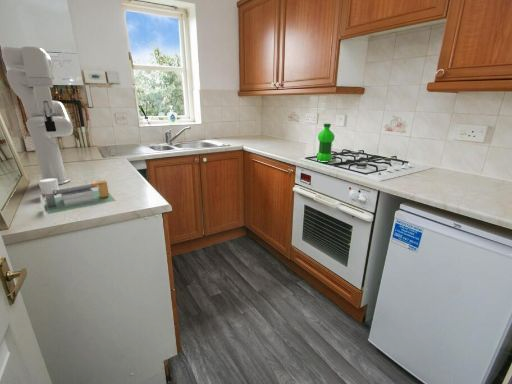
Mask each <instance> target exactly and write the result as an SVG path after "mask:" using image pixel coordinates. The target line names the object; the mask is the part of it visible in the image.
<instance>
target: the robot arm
mask: <svg viewBox="0 0 512 384" xmlns="http://www.w3.org/2000/svg"><path fill="white" fill-rule="evenodd" d="M1 58H2V60H3V63H4V64H5V67H6V68H8V69H7V70H6V79H7V81H8V84H9V86H10V88H11V89H12V91H13V92H14V94H16V96H18V98H19V99H20V101H21V103H22V106H23V110H24V113H25V115H26V116H27V117H28V119H27V120H26V122H25V123H26V124H25V125H26V129H27V130H28V133H29V135H30V139H31V141H32V143H33V146H34V152H35V155H36V159H37V163H38V167H39V171H40V174H41V180H42V179H47V178H57V180H58V186H59V185H63V184H67V183H69V182H70V181H71V177H67V175H66V170H65V166H64V161H63V158H62V153H61V150H60V146H59V144H58V143H57V142H56V141H54V140H53V139H52V138H57V137H58V138H59V137H68V136H71V135H72V134H73V132H74V126H73V122H72V121H71V118H70V116H69V114H68V111H67V109H66V107H65V106H64V104H63V103H62V102H61V101H59V100H53V97H52V92H51V88H54V86H53V85H54V84H53V83H54V82H53V81H54V79H53V76H54V75H53V74H54V73H53V72H54V71H53V70H54V69H53V62H52V58H51V56H50V55H49V54H48V53H47V52H46V50H44V49H43V48H42V47H39V46H37V47H36V46H22V47H14V46H13V47H9V46H5V47H2V49H1Z"/></svg>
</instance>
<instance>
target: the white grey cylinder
mask: <svg viewBox="0 0 512 384" xmlns="http://www.w3.org/2000/svg"><path fill="white" fill-rule="evenodd" d="M37 183H38V185H39V189H40V191H41V194H42V195H48V194H53V192H52V191H53V190H60V189H59V185H58V180H57V178H47V179H42V178H41V179H38V181H37Z"/></svg>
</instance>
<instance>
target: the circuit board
mask: <svg viewBox="0 0 512 384" xmlns="http://www.w3.org/2000/svg"><path fill="white" fill-rule="evenodd" d="M93 193H94V197H95V201H94V202H89V203H83V204H78V205H73V206H68V207H65V205H64V202H63V200H62V196H59V197H54V198H55V202H56V206H57V207H51V208H48V204H47V201H46V199H44V201H45V207H46V212H47V215H51V214H55V213H59V212H65V211H69V210H77V209H79V208H87V207H90V206H96V205H100V204H106V203H110V202H116V199H115V198H114V197H113V196H112V194H110V192H109V191H108V193H109V196H106V197H100V196H99V190H93Z"/></svg>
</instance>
